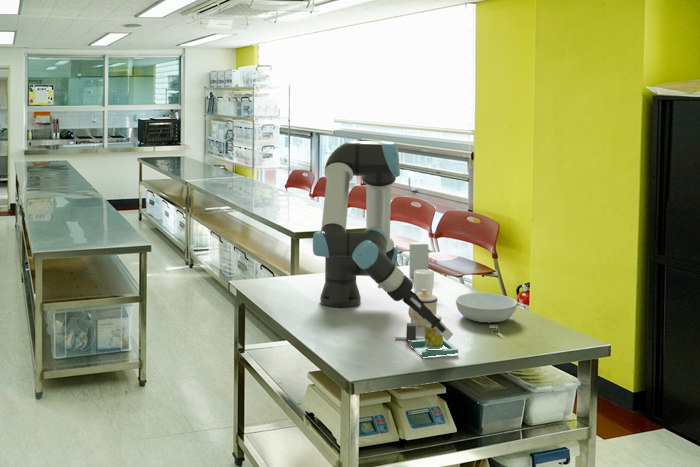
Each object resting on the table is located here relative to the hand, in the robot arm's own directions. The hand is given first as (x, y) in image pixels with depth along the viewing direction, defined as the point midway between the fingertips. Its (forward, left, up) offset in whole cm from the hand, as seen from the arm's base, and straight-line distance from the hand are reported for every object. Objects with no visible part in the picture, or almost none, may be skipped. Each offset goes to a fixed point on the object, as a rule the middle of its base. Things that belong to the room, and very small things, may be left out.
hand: (445, 333), depth 215 cm
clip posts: (-7, +9, -5) cm, 13 cm away
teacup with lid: (-7, +27, -6) cm, 28 cm away
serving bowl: (+15, +35, -6) cm, 39 cm away
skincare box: (-8, +98, -6) cm, 98 cm away
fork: (+19, +14, -6) cm, 24 cm away
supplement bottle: (-4, -1, -4) cm, 6 cm away
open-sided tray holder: (-3, -1, -5) cm, 6 cm away
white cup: (-6, +63, -6) cm, 63 cm away
